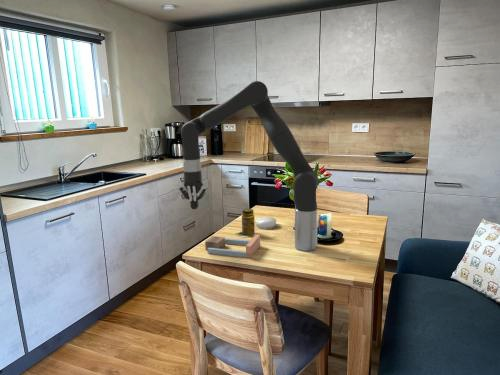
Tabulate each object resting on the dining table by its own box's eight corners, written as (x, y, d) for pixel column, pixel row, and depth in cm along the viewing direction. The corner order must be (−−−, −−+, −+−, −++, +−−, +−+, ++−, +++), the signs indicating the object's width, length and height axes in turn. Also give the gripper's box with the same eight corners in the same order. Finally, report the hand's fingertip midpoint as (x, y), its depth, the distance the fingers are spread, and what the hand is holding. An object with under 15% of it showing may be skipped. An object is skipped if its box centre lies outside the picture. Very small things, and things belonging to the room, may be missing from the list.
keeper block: (224, 245, 166) (224, 237, 165) (218, 251, 159) (217, 242, 158) (212, 244, 168) (212, 236, 167) (205, 250, 161) (205, 241, 160)
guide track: (260, 245, 164) (260, 234, 163) (250, 257, 151) (250, 246, 150) (220, 241, 170) (219, 231, 169) (207, 253, 157) (207, 242, 156)
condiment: (258, 234, 179) (257, 210, 176) (243, 238, 174) (242, 213, 172) (249, 230, 185) (249, 207, 182) (235, 233, 180) (234, 209, 178)
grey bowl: (278, 224, 194) (278, 217, 193) (273, 230, 185) (273, 223, 184) (259, 222, 197) (259, 216, 196) (254, 228, 188) (254, 222, 187)
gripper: (210, 168, 160) (212, 207, 164) (182, 167, 164) (184, 205, 168) (203, 171, 153) (205, 212, 157) (174, 170, 157) (176, 210, 161)
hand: (194, 208), depth 162 cm, fingers closed
